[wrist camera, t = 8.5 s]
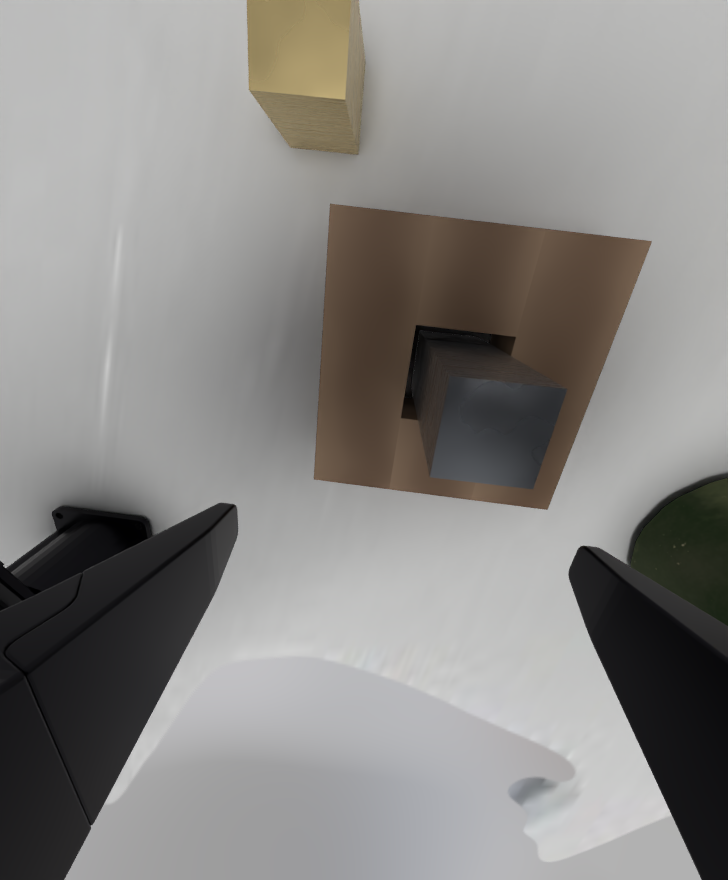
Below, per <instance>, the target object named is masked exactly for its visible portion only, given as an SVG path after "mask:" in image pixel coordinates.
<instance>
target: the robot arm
mask: <svg viewBox="0 0 728 880" xmlns="http://www.w3.org/2000/svg"><path fill="white" fill-rule="evenodd" d="M52 516H53V519H54V522H55V526H56V529H57V531H56V532H55V533H53V534H52V535H50V536H49V537H48V538H46V539H45V540H44V541H42V542H41V543H40V544H38V545H37V546H36V547H34V548H33V549H32V550H30V551H29V552H27V553H26V554H25V555H23V556H22V557H21V558H19V559H18V560H17V561H15V562H14V563H13V564H11V565H10V566H8V567H7V568H5V567H3V565H4V564H3V563H2V562H1V561H0V880H64V879H65V877H66V875H67V873H68V871H69V870H70V868H71V866H72V864H73V862H74V860H75V858H76V856H77V854H78V852H79V851H80V849H81V847H82V845H83V843H84V841H85V839H86V837H87V836H88V834H89V832H90V830H91V825H93V823H94V822H95V820H96V818H97V816H98V814H99V812H100V810H101V808H102V807H103V805H104V803H105V801H106V799H107V797H108V795H109V793H110V791H111V789H112V788H113V786H114V784H115V782H116V780H117V778H118V776H119V774H120V772H121V771H122V769H123V767H124V765H125V763H126V761H127V759H128V757H129V755H130V754H131V752H132V750H133V748H134V746H135V744H136V742H137V740H138V738H139V736H140V735H141V733H142V731H143V729H144V727H145V725H146V723H147V721H148V719H149V718H150V716H151V714H152V712H153V710H154V708H155V706H156V704H157V702H158V700H159V699H160V697H161V695H162V693H163V691H164V689H165V687H166V685H167V683H168V682H169V680H170V678H171V676H172V674H173V672H174V670H175V668H176V666H177V664H178V663H179V661H180V659H181V657H182V655H183V653H184V651H185V649H186V647H187V646H188V644H189V642H190V640H191V638H192V636H193V634H194V632H195V630H196V628H197V627H198V625H199V623H200V621H201V619H202V617H203V615H204V613H205V611H206V610H207V608H208V606H209V604H210V602H211V600H212V598H213V596H214V594H215V592H216V590H217V587H218V585H219V582H220V580H221V577H222V575H223V572H224V570H225V567H226V565H227V562H228V560H229V557H230V554H231V552H232V549H233V547H234V544H235V542H236V539H237V535H238V516H237V507H236V505H234V504H228V503H218V504H216V505H214V506H212V507H210V508H208V509H206V510H204V511H202V512H200V513H198V514H196V515H194V516H192V517H190V518H188V519H186V520H184V521H182V522H180V523H178V524H176V525H174V526H172V527H170V528H169V529H167V530H165V531H163V532H161V533H159V534H157V535H155V536H153V537H152V536H151V530H150V524H149V522H148V520H147V519H145V518H143V517H138V516H130V515H123V514H115V513H108V512H100V511H93V510H85V509H78V508H70V507H58V508H57V509H55V510H54V511H53V512H52ZM569 580H570V583H571V586H572V588H573V591H574V594H575V597H576V600H577V603H578V606H579V608H580V611H581V614H582V617H583V620H584V623H585V626H586V628H587V631H588V633H589V636H590V638H591V641H592V643H593V645H594V648H595V650H596V652H597V654H598V656H599V658H600V661H601V663H602V665H603V667H604V669H605V671H606V674H607V676H608V678H609V680H610V682H611V684H612V687H613V689H614V691H615V693H616V695H617V697H618V700H619V702H620V704H621V706H622V708H623V710H624V713H625V715H626V717H627V719H628V721H629V723H630V726H631V728H632V730H633V732H634V734H635V736H636V739H637V741H638V743H639V745H640V747H641V749H642V752H643V754H644V756H645V758H646V760H647V762H648V765H649V767H650V769H651V771H652V773H653V775H654V778H655V780H656V782H657V784H658V786H659V788H660V791H661V793H662V795H663V797H664V799H665V801H666V804H667V806H668V808H669V810H670V812H671V814H672V817H673V818H674V821H675V823H676V825H677V827H678V829H679V832H680V834H681V836H682V838H683V840H684V842H685V844H686V847H687V849H688V851H689V853H690V855H691V858H692V860H693V862H694V864H695V866H696V868H697V870H698V873H699V875H700V877H701V879H702V880H728V626H727V625H725V624H723V623H722V622H720V621H718V620H717V619H715V618H713V617H712V616H710V615H709V614H707V613H705V612H704V611H702V610H700V609H699V608H697V607H695V606H694V605H692V604H690V603H689V602H687V601H686V600H684V599H682V598H681V597H679V596H677V595H676V594H674V593H672V592H671V591H669V590H668V589H666V588H664V587H663V586H661V585H659V584H658V583H656V582H654V581H653V580H651V579H650V578H648V577H646V576H645V575H643V574H641V573H640V572H638V571H636V570H635V569H633V568H631V567H630V566H628V565H627V564H625V563H623V562H622V561H620V560H618V559H617V558H615V557H613V556H612V555H610V554H609V553H607V552H605V551H604V550H602V549H600V548H598V547H591V546H581V547H580V548H579V549H578V550H577V553H576V555H575V557H574V559H573V562H572V564H571V566H570V569H569Z"/></svg>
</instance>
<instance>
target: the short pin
mask: <svg viewBox="0 0 728 880" xmlns="http://www.w3.org/2000/svg"><path fill="white" fill-rule="evenodd" d="M247 25H248V66H249V90H250V92H251V93H252V95H253V96H254V97H255V99H256V100H257V102H258V103H259V104H260V106H261V107H262V109H263V110H264V111H265V113H266V114H267V115H268V117H269V118H270V120H271V121H272V122H273V124H274V125H275V127H276V128H277V129H278V131H279V132H280V134H281V135H282V136H283V138H284V139H285V141H286V142H287V143H288V145H289V146H290V147H291V148H300V149H310V150H319V151H329V152H338V153H348V154H357V155H358V151H359V138H360V125H361V112H362V99H363V86H364V73H365V55H364V46H363V36H362V27H361V18H360V9H359V0H247Z"/></svg>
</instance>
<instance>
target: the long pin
mask: <svg viewBox="0 0 728 880" xmlns="http://www.w3.org/2000/svg"><path fill="white" fill-rule="evenodd" d="M411 390H412V395H413V400H414V405H415V409H416V414H417V419H418V424H419V428H420V433H421V438H422V443H423V447H424V452H425V457H426V462H427V467H428V471H429V476H430V477H432V478H440V479H449V480H457V481H466V482H474V483H483V484H492V485H500V486H509V487H517V488H526V489H533V488H534V485H535V482H536V480H537V477H538V474H539V471H540V468H541V465H542V462H543V459H544V456H545V453H546V450H547V447H548V445H549V442H550V439H551V436H552V433H553V430H554V427H555V424H556V421H557V418H558V415H559V412H560V410H561V407H562V404H563V401H564V398H565V395H566V392H567V388H565V387H563V386H561V385H560V384H558V383H556V382H555V381H553V380H551V379H549V378H548V377H546V376H544V375H543V374H541V373H539V372H537V371H536V370H534V369H532V368H531V367H529V366H527V365H525V364H524V363H522V362H520V361H519V360H517V359H515V358H513V357H512V356H510V355H508V354H507V353H505V352H503V351H501V350H500V349H498V348H496V347H495V346H493V345H491V344H489V343H488V342H486V341H484V340H483V339H481V338H479V337H477V336H468V335H458V334H449V333H440V332H431V331H421V330H419V336H418V343H417V349H416V356H415V362H414V369H413V375H412V382H411Z"/></svg>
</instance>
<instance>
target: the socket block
mask: <svg viewBox="0 0 728 880" xmlns="http://www.w3.org/2000/svg"><path fill="white" fill-rule="evenodd" d="M651 242H652V241H644V240H636V239H627V238H618V237H610V236H601V235H593V234H584V233H576V232H567V231H558V230H550V229H541V228H533V227H524V226H516V225H507V224H498V223H490V222H481V221H473V220H464V219H456V218H447V217H438V216H430V215H421V214H413V213H404V212H395V211H387V210H378V209H370V208H361V207H353V206H344V205H335V204H330V215H329V232H328V249H327V266H326V283H325V300H324V317H323V334H322V351H321V367H320V384H319V401H318V418H317V435H316V452H315V469H314V479H315V480H323V481H330V482H338V483H346V484H353V485H361V486H369V487H377V488H384V489H392V490H400V491H407V492H415V493H423V494H430V495H438V496H446V497H454V498H461V499H469V500H477V501H484V502H492V503H500V504H507V505H515V506H523V507H530V508H538V509H546V510H547V509H548V507H549V504H550V502H551V499H552V497H553V494H554V491H555V489H556V486H557V484H558V481H559V479H560V476H561V473H562V471H563V468H564V466H565V463H566V461H567V458H568V455H569V453H570V450H571V448H572V445H573V443H574V440H575V438H576V435H577V432H578V430H579V427H580V425H581V422H582V420H583V417H584V414H585V412H586V409H587V407H588V404H589V402H590V399H591V396H592V394H593V391H594V389H595V386H596V384H597V381H598V378H599V376H600V373H601V371H602V368H603V366H604V363H605V360H606V358H607V355H608V353H609V350H610V348H611V345H612V343H613V340H614V337H615V335H616V332H617V330H618V327H619V325H620V322H621V319H622V317H623V314H624V312H625V309H626V307H627V304H628V301H629V299H630V296H631V294H632V291H633V289H634V286H635V283H636V281H637V278H638V276H639V273H640V271H641V268H642V266H643V263H644V260H645V258H646V255H647V253H648V250H649V248H650V245H651ZM416 325H423V326H431V327H439V328H447V329H456V330H464V331H472V332H480V333H488V334H492V336H491V340H490V344H491V345H493V346H495V347H496V348H498V349H500V350H501V351H503V352H505V353H507V354H508V355H510V356H512V357H513V358H515V359H517V360H519V361H520V362H522V363H524V364H525V365H527V366H529V367H531V368H532V369H534V370H536V371H537V372H539V373H541V374H543V375H544V376H546V377H548V378H549V379H551V380H553V381H555V382H556V383H558V384H560V385H561V386H563V387H565V388H567V392H566V395H565V398H564V401H563V404H562V407H561V410H560V412H559V415H558V418H557V421H556V424H555V427H554V430H553V433H552V436H551V439H550V442H549V445H548V447H547V450H546V453H545V456H544V459H543V462H542V465H541V468H540V471H539V474H538V477H537V480H536V482H535V485H534V488H533V489H526V488H517V487H509V486H500V485H492V484H483V483H474V482H466V481H457V480H449V479H440V478H432V477H430V476H429V471H428V467H427V462H426V457H425V452H424V447H423V443H422V438H421V433H420V428H419V424H418V419H417V414H416V409H415V405H414V400H413V398H407V397H404V395H405V389H406V383H407V377H408V371H409V364H410V358H411V352H412V346H413V340H414V334H415V328H416Z"/></svg>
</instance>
